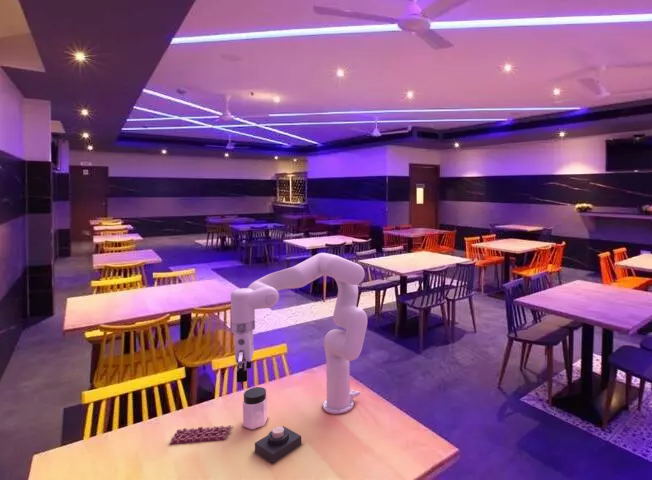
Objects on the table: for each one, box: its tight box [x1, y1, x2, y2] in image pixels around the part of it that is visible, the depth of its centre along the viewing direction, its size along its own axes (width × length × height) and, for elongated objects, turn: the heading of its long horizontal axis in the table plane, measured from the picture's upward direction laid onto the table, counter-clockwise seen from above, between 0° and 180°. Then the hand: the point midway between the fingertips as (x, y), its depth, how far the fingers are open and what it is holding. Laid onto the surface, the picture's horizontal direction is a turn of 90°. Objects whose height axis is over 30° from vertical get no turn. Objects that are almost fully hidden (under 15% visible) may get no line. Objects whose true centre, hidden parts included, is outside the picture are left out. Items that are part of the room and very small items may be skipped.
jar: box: [242, 386, 268, 430], centre depth 153 cm, size 9×8×12 cm
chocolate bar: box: [170, 425, 231, 445], centre depth 146 cm, size 7×19×2 cm, turn 97°
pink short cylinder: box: [271, 425, 284, 439], centre depth 138 cm, size 4×4×2 cm
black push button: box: [254, 425, 302, 464], centre depth 138 cm, size 12×10×5 cm
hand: (244, 374), depth 136 cm, fingers open, 9 cm apart
